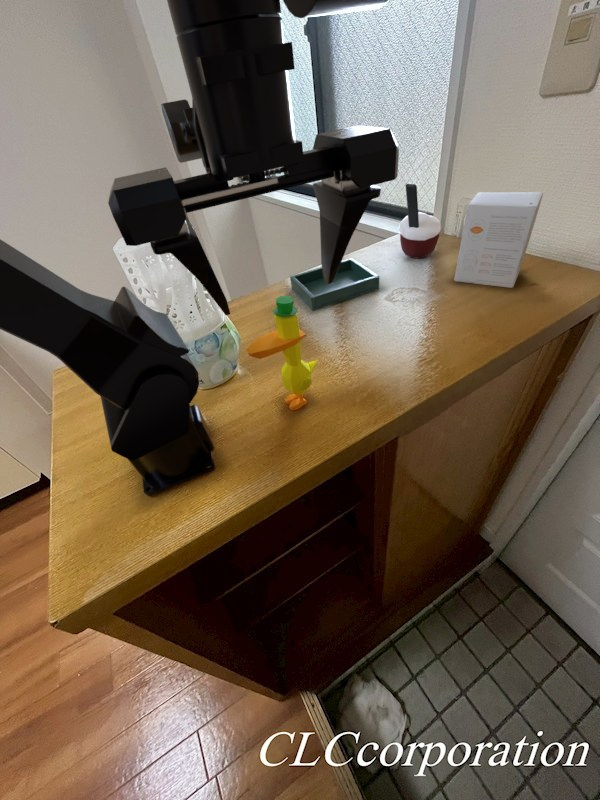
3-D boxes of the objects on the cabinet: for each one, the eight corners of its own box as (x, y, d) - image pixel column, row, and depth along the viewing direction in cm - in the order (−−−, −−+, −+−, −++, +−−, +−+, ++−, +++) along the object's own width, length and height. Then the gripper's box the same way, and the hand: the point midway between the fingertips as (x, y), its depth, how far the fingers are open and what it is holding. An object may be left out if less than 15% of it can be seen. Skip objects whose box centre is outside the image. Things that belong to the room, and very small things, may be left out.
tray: (312, 311, 50) (311, 298, 49) (291, 288, 56) (289, 276, 55) (379, 289, 52) (379, 276, 51) (352, 269, 58) (351, 257, 57)
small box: (519, 272, 50) (546, 191, 43) (513, 289, 47) (539, 205, 40) (462, 266, 54) (477, 190, 47) (452, 281, 51) (467, 203, 44)
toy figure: (273, 426, 35) (245, 325, 26) (260, 406, 37) (230, 307, 29) (330, 399, 36) (319, 296, 28) (313, 381, 39) (299, 282, 31)
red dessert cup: (423, 242, 63) (432, 165, 54) (449, 251, 58) (464, 169, 50) (382, 258, 60) (384, 179, 52) (406, 269, 56) (414, 185, 48)
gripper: (325, 26, 26) (337, 241, 36) (65, 67, 22) (162, 291, 33) (414, -7, 18) (395, 280, 28) (32, 49, 14) (174, 349, 25)
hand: (279, 296), depth 29 cm, fingers open, 9 cm apart
